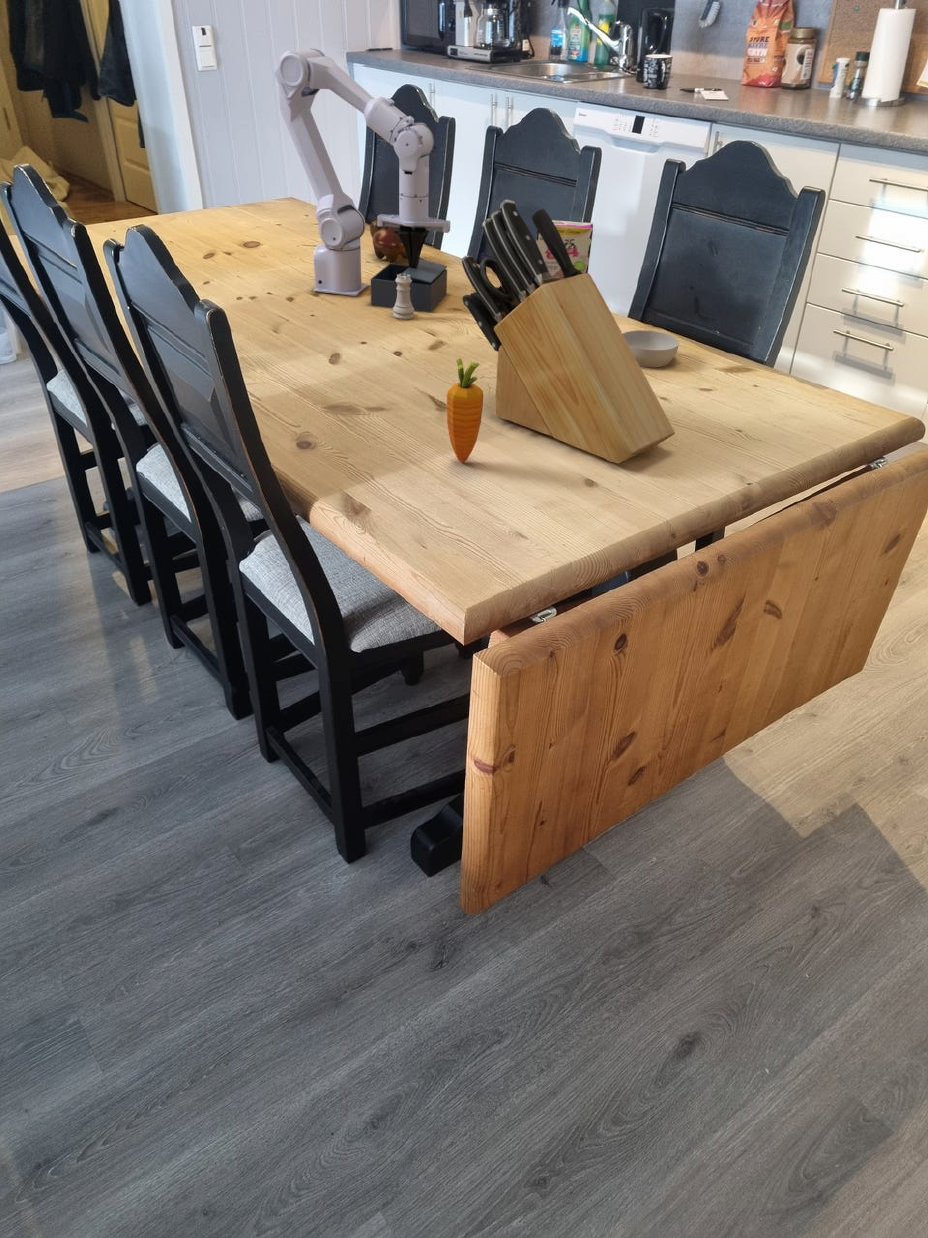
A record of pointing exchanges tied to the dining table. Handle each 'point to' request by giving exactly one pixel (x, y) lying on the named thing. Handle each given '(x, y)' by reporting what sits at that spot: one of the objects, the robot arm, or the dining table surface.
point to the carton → (420, 293)
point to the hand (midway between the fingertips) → (413, 266)
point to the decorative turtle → (387, 242)
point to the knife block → (559, 346)
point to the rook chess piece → (403, 299)
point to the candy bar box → (569, 246)
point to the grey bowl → (651, 347)
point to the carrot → (464, 412)
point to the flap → (425, 271)
